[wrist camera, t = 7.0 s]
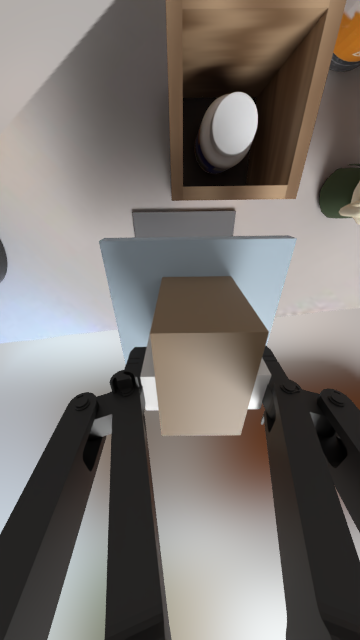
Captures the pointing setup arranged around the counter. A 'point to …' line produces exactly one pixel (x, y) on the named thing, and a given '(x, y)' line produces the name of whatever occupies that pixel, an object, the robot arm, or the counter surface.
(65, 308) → the counter surface
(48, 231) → the counter surface
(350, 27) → the canister
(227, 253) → the lid
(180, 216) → the mat
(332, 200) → the character mug
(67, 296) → the counter surface
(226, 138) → the pill bottle
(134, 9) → the counter surface
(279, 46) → the box
